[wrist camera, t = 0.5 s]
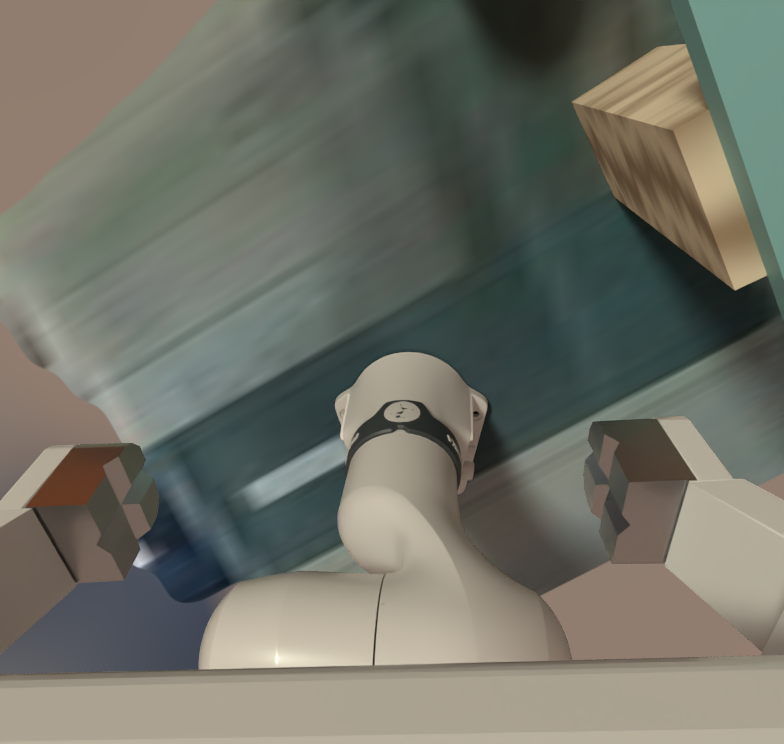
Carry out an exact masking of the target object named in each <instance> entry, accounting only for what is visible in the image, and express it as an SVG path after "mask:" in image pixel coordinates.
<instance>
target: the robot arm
mask: <svg viewBox="0 0 784 744" xmlns="http://www.w3.org/2000/svg"><path fill="white" fill-rule="evenodd" d="M487 407H488V401H487V399H486V397H485V396H483V395H482V394H480V393H479V392H477V391H475V390H474V389H472V388H470V387H469V386H468V385H467V384H466V383H465V382H464V381H463V379H462V378H461V377H460V376H459V374H458V373H457V372H456V371H455V370H454V369H453V368H452V367H451V366H449V365H448V364H447V363H445V362H443V361H442V360H440V359H438V358H435V357H433V356H430V355H427V354H422V353H415V352H402V353H395V354H391V355H388V356H385V357H383V358H380V359H378V360H377V361H375V362H374V363H372V364H371V365H369V366H368V367H367V368H366V369H365V370H364V371H363V372H362V374H361V375H360V377H359V378H358V380H357V381H356V383H355V384H354V385H353V386H352V387H351V388H349V389H348V390H346V391H344V392H343V393H341V394H340V395H339V396H338V397H337V398H336V401H335V409H336V412H337V415H338V418H339V420H340V423H341V426H342V427H341V433H340V437H341V439H342V440H344V444H345V447H346V449H347V455H346V467H345V475H346V482H345V486H344V490H343V494H342V498H341V503H340V507H339V511H338V530H339V534H340V537H341V540H342V542H343V544H344V546H345V547H346V549H347V550H348V552H349V553H350V554H351V556H352V557H353V558H354V560H355V561H356V562H357V563H358V564H359V565H360V566H361V567H362V568H363V569H364V570H366V571H367V572H369V573H370V574H368V573H343V572H318V571H296V572H290V573H283V574H276V575H270V576H265V577H260V578H255V579H250V580H245V581H242V582H240V583H238V584H237V585H236V586H235V587H234V588H233V589H232V590H231V591H230V592H228V594H227V595H226V596H225V597H224V598H223V599H222V601H221V602H220V604H219V605H218V606H217V608H216V609H215V611H214V612H213V614H212V616H211V618H210V620H209V622H208V624H207V627H206V629H205V633H204V635H203V639H202V643H201V648H200V655H199V670H159V671H120V672H119V671H118V672H75V673H36V674H0V744H784V500H782V499H780V498H779V497H777V496H775V495H773V494H771V493H769V492H767V491H765V490H763V489H762V488H760V487H758V486H756V485H754V484H752V483H750V482H748V481H746V480H745V479H733V477H732V476H731V475H730V473H729V472H728V471H727V469H726V468H725V467H724V465H723V464H722V463H721V462H720V460H719V459H718V458H717V456H716V455H715V454H714V452H713V451H712V450H711V448H710V447H709V446H708V444H707V443H706V442H705V440H704V439H703V438H702V436H701V435H700V434H699V432H698V431H697V430H696V428H695V427H694V426H693V424H692V423H691V422H690V420H689V419H688V418H686V417H684V416H669V417H655V418H652V419H635V420H616V421H597V422H593V423H592V425H591V427H590V431H589V437H588V441H589V444H590V446H591V448H592V450H593V452H592V453H591V454H590V455H589V456H588V457H587V458H586V459H585V465H584V474H583V476H584V490H585V494H586V498H587V502H588V505H589V507H590V510H591V512H592V513H593V514H594V515H596V516H597V517H599V518H600V519H601V525H600V530H599V533H600V535H601V538H602V540H603V543H604V545H605V548H606V550H607V553H608V555H609V558H610V560H611V563H612V564H648V563H650V564H652V563H653V564H654V563H665V567H666V568H667V569H669V570H670V571H671V572H672V573H673V574H674V575H675V576H677V577H678V578H679V579H680V580H681V581H682V582H683V583H685V584H686V585H687V586H688V587H689V588H690V589H691V590H693V591H694V592H695V593H696V594H697V595H698V596H699V597H701V598H702V599H703V600H704V601H705V602H706V603H707V604H708V605H710V606H711V607H712V608H713V609H714V610H715V611H716V612H717V613H719V614H720V615H721V616H722V617H723V618H724V619H726V620H727V621H728V622H729V623H730V624H731V625H732V626H733V627H735V628H736V629H737V630H738V631H739V632H740V633H741V634H743V635H744V636H745V637H746V638H747V639H748V640H749V641H751V642H752V643H753V644H754V645H755V646H756V647H757V648H758V649H759V650H761V651H762V654H761V656H729V657H728V656H727V657H686V658H644V659H604V660H572V657H571V653H570V649H569V645H568V641H567V638H566V636H565V633H564V631H563V629H562V626H561V625H560V623H559V621H558V619H557V617H556V616H555V615H554V613H553V611H552V610H551V608H550V607H549V606H548V605H547V603H546V602H545V601H544V600H543V599H542V598H541V597H540V596H539V595H538V594H537V593H536V592H535V591H533V590H531V589H529V588H527V587H525V586H523V585H521V584H519V583H518V582H516V581H514V580H513V579H511V578H509V577H508V576H506V575H505V574H504V573H502V572H501V571H500V570H498V569H497V568H496V567H495V566H494V565H492V564H491V563H490V562H489V561H488V560H487V559H486V558H485V557H484V556H483V555H482V554H481V553H480V552H479V551H478V550H477V548H476V547H475V546H474V545H473V543H472V542H471V541H470V539H469V538H468V536H467V534H466V533H465V531H464V529H463V526H462V523H461V517H460V511H459V504H458V495H459V494H461V493H462V492H464V490H465V488H466V485H467V481H468V480H469V481H470V480H472V479H473V474H474V462H473V459H474V456H475V452H476V448H477V445H478V441H479V437H480V434H481V430H482V426H483V423H484V419H485V416H486V412H487ZM475 411H477V412H479V413H477V414H474V413H473V412H475ZM145 461H146V459H145V457H144V455H143V453H142V451H141V448H140V446H138V445H135V444H133V443H114V444H81V445H55V446H52V447H50V448H47V449H45V450H44V451H43V452H42V454H41V455H40V456H39V457H38V458H37V459H36V461H35V462H34V463H33V464H32V465H31V466H30V468H29V469H28V470H27V471H26V472H25V473H24V474H23V475H22V477H21V478H20V479H19V480H18V481H17V482H16V483H15V485H14V486H13V487H12V488H11V489H10V490H9V492H8V493H7V494H6V495H5V496H4V497H3V498H2V500H1V501H0V654H1V653H2V652H3V651H5V650H6V649H7V648H8V647H9V646H10V645H11V644H12V643H13V642H15V641H16V640H17V639H18V638H19V637H20V636H21V635H22V634H23V633H25V632H26V631H27V630H28V629H29V628H30V627H31V626H32V625H34V624H35V623H36V622H37V621H38V620H39V619H40V618H41V617H42V616H44V615H45V614H46V613H47V612H48V611H49V610H50V609H51V608H52V607H53V606H55V605H56V604H57V603H58V602H59V601H60V600H61V599H62V598H64V597H65V596H66V595H67V594H68V593H69V592H70V591H71V590H72V589H74V588H75V587H76V586H77V585H76V583H86V582H103V581H118V580H125V578H126V576H127V574H128V572H129V570H130V568H131V566H132V564H133V562H134V560H135V559H136V557H137V555H138V553H139V551H140V547H139V544H138V541H137V539H138V538H140V537H141V536H142V535H144V534H145V533H146V532H147V531H149V530H150V529H151V527H152V525H153V523H154V521H155V519H156V517H157V510H158V504H159V497H158V490H157V486H156V484H155V481H154V479H153V478H152V477H151V476H149V475H148V474H147V473H145V472H144V471H143V470H142V468H143V466H144V463H145Z"/></svg>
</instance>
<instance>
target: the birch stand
mask: <svg viewBox="0 0 784 744" xmlns="http://www.w3.org/2000/svg"><path fill="white" fill-rule="evenodd" d="M572 104H573V106H574V109H575V111H576V113H577V115H578V118H579V120H580V122H581V124H582V126H583V129H584V131H585V133H586V135H587V138H588V140H589V142H590V144H591V146H592V149H593V151H594V153H595V155H596V158H597V160H598V162H599V164H600V166H601V169H602V171H603V173H604V175H605V178H606V180H607V182H608V184H609V186H610V189H611V191H612V193H613V195H614V197H615V198H616V199H618V200H619V201H620V202H621V203H623V204H624V205H625V206H627V207H628V208H629V209H631V210H632V211H633V212H634V213H636V214H637V215H638V216H640V217H641V218H642V219H643V220H645V221H646V222H647V223H649V224H650V225H651V226H652V227H654V228H655V229H656V230H658V231H659V232H660V233H661V234H663V235H664V236H665V237H667V238H668V239H669V240H670V241H672V242H673V243H674V244H676V245H677V246H678V247H679V248H681V249H682V250H683V251H685V252H686V253H687V254H688V255H690V256H691V257H692V258H694V259H695V260H696V261H697V262H699V263H700V264H701V265H703V266H704V267H705V268H706V269H708V270H709V271H710V272H712V273H713V274H714V275H715V276H717V277H718V278H719V279H721V280H722V281H723V282H724V283H726V284H727V285H728V286H730V287H731V288H732V289H733V290H737V289H739V288H741V287H744V286H746V285H748V284H750V283H752V282H754V281H756V280H758V279H761V278H763V277H765V276H767V273H766V270H765V268H764V265H763V262H762V259H761V256H760V253H759V251H758V248H757V245H756V242H755V239H754V236H753V234H752V231H751V228H750V225H749V222H748V219H747V217H746V214H745V211H744V208H743V205H742V202H741V200H740V197H739V194H738V191H737V188H736V185H735V183H734V180H733V177H732V174H731V171H730V169H729V166H728V163H727V160H726V157H725V154H724V152H723V149H722V146H721V143H720V140H719V137H718V135H717V132H716V129H715V126H714V123H713V120H712V118H711V115H710V112H709V109H708V106H707V103H706V101H705V98H704V95H703V92H702V89H701V86H700V84H699V81H698V78H697V75H696V72H695V69H694V67H693V64H692V61H691V58H690V55H689V53H688V50H687V47H686V44H681V45H671V46H660V47H657V48H655V49H654V50H652V51H651V52H649V53H647V54H646V55H644V56H643V57H641V58H640V59H638V60H636V61H635V62H633V63H632V64H630V65H629V66H627V67H626V68H624V69H622V70H621V71H619V72H618V73H616V74H615V75H613V76H611V77H610V78H608V79H607V80H605V81H604V82H602V83H601V84H599V85H597V86H596V87H594V88H593V89H591V90H590V91H588V92H586V93H585V94H583V95H582V96H580V97H579V98H577V99H575V100H574V101H572Z"/></svg>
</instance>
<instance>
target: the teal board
mask: <svg viewBox="0 0 784 744" xmlns="http://www.w3.org/2000/svg"><path fill="white" fill-rule="evenodd" d="M670 2H671V4H672V7H673V10H674V13H675V16H676V19H677V21H678V24H679V27H680V30H681V33H682V36H683V38H684V41H685V44H686V47H687V50H688V53H689V55H690V58H691V61H692V64H693V67H694V69H695V72H696V75H697V78H698V81H699V84H700V86H701V89H702V92H703V95H704V98H705V101H706V103H707V106H708V109H709V112H710V115H711V118H712V120H713V123H714V126H715V129H716V132H717V135H718V137H719V140H720V143H721V146H722V149H723V152H724V154H725V157H726V160H727V163H728V166H729V169H730V171H731V174H732V177H733V180H734V183H735V185H736V188H737V191H738V194H739V197H740V200H741V202H742V205H743V208H744V211H745V214H746V217H747V219H748V222H749V225H750V228H751V231H752V234H753V236H754V239H755V242H756V245H757V248H758V251H759V253H760V256H761V259H762V262H763V265H764V268H765V270H766V273H767V276H768V279H769V282H770V285H771V287H772V290H773V293H774V296H775V299H776V301H777V304H778V307H779V310H780V313H781V316H782V318H783V321H784V0H670Z"/></svg>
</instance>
